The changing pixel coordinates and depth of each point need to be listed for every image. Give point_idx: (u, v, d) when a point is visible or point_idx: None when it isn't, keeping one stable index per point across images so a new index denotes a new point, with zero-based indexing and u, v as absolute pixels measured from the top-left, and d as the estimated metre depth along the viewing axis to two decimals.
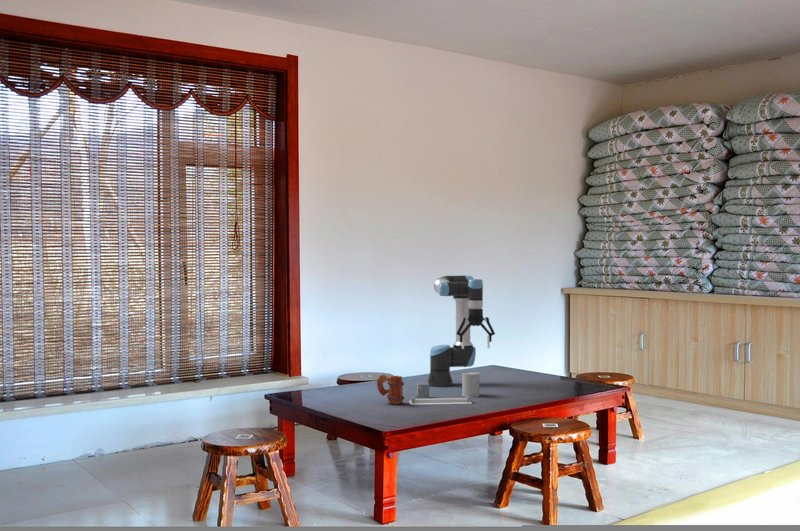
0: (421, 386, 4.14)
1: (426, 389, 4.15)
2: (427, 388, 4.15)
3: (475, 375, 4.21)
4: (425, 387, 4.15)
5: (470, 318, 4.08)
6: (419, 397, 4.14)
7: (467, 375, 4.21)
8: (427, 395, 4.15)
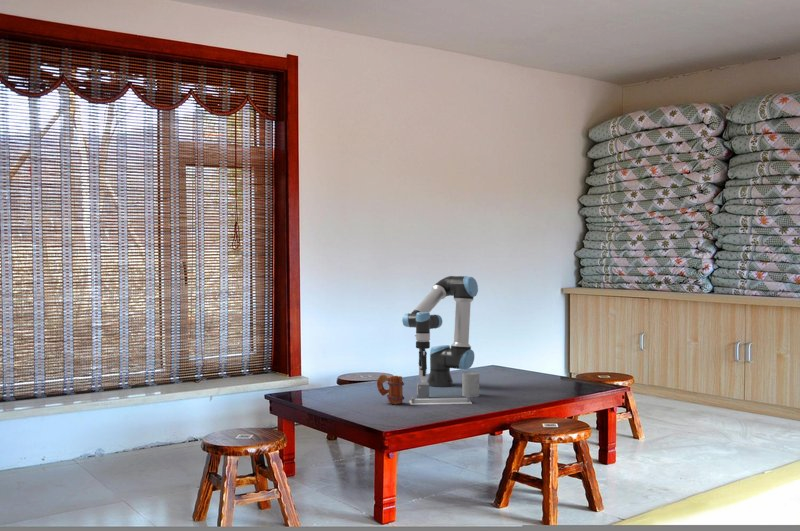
0: (421, 386, 4.14)
1: (426, 389, 4.15)
2: (427, 388, 4.15)
3: (475, 375, 4.21)
4: (425, 387, 4.15)
5: (420, 350, 4.20)
6: (419, 397, 4.14)
7: (467, 375, 4.21)
8: (427, 395, 4.15)
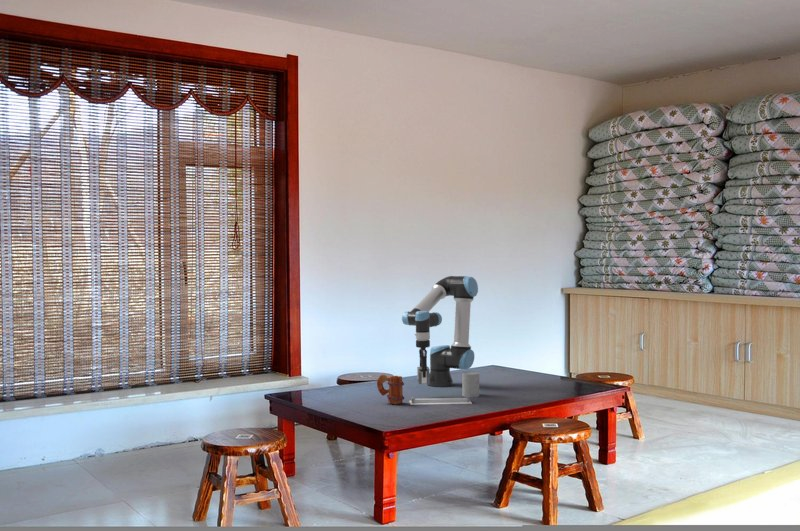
0: None
1: (427, 374, 4.15)
2: (427, 372, 4.15)
3: (475, 375, 4.21)
4: None
5: (420, 348, 4.21)
6: (420, 381, 4.15)
7: (467, 375, 4.21)
8: (427, 379, 4.15)
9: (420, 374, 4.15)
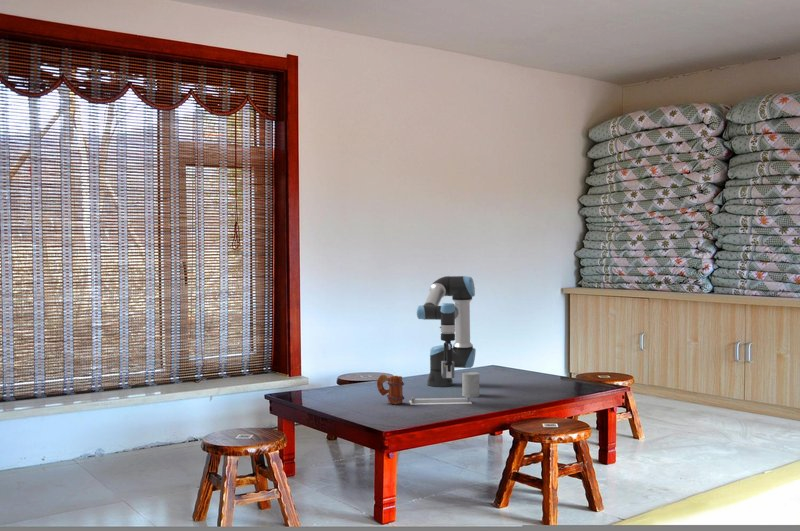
0: None
1: None
2: (452, 366, 4.03)
3: (475, 375, 4.21)
4: None
5: (445, 342, 4.09)
6: (444, 375, 4.02)
7: (467, 375, 4.21)
8: (452, 373, 4.03)
9: (445, 368, 4.02)
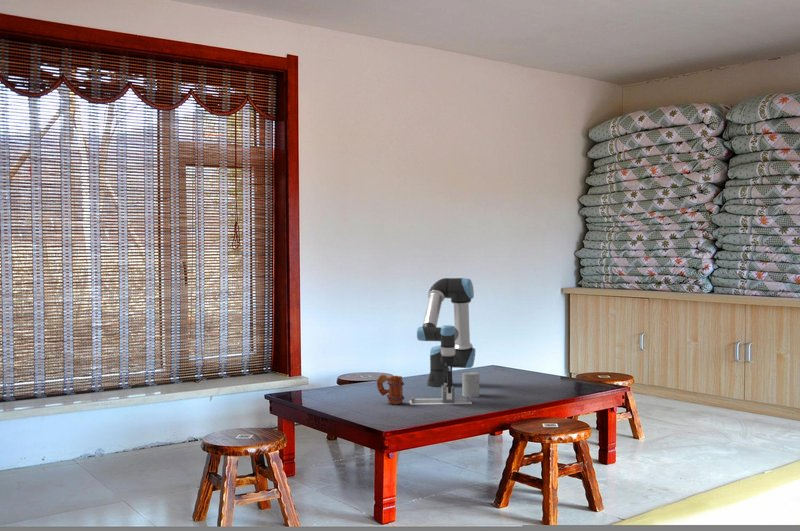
0: (446, 389, 4.03)
1: None
2: (452, 391, 4.03)
3: (475, 375, 4.21)
4: None
5: (445, 364, 4.09)
6: (444, 400, 4.03)
7: (467, 375, 4.21)
8: (452, 398, 4.03)
9: (445, 393, 4.03)
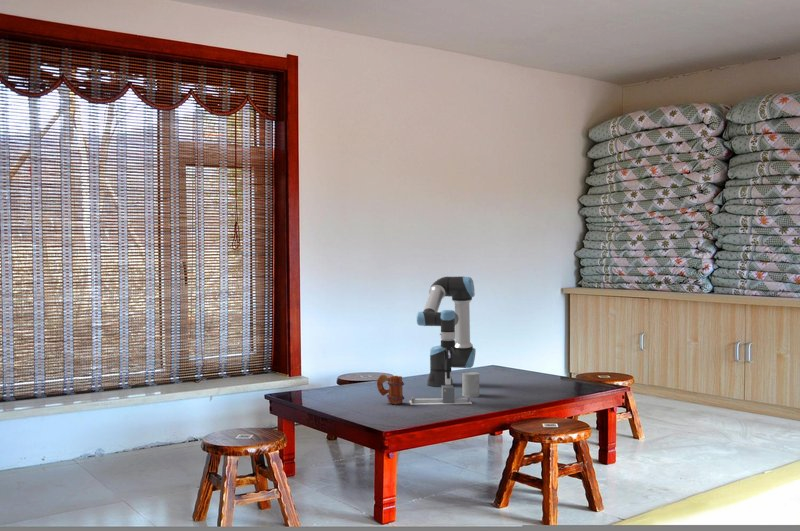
0: (446, 389, 4.03)
1: (451, 393, 4.03)
2: (452, 391, 4.03)
3: (475, 375, 4.21)
4: (450, 390, 4.03)
5: (445, 348, 4.09)
6: (444, 400, 4.03)
7: (467, 375, 4.21)
8: (452, 398, 4.03)
9: (445, 393, 4.03)
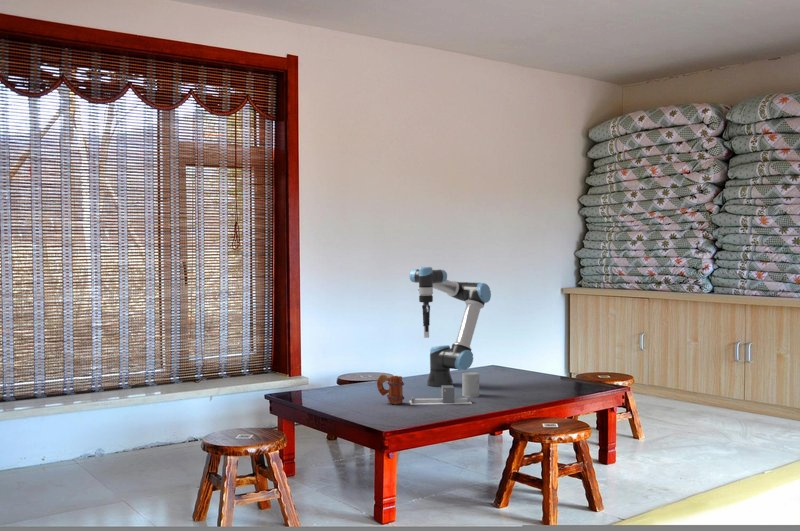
0: (446, 389, 4.03)
1: (451, 393, 4.03)
2: (452, 391, 4.03)
3: (475, 375, 4.21)
4: (450, 390, 4.03)
5: (423, 304, 4.31)
6: (444, 400, 4.03)
7: (467, 375, 4.21)
8: (452, 398, 4.03)
9: (445, 393, 4.03)
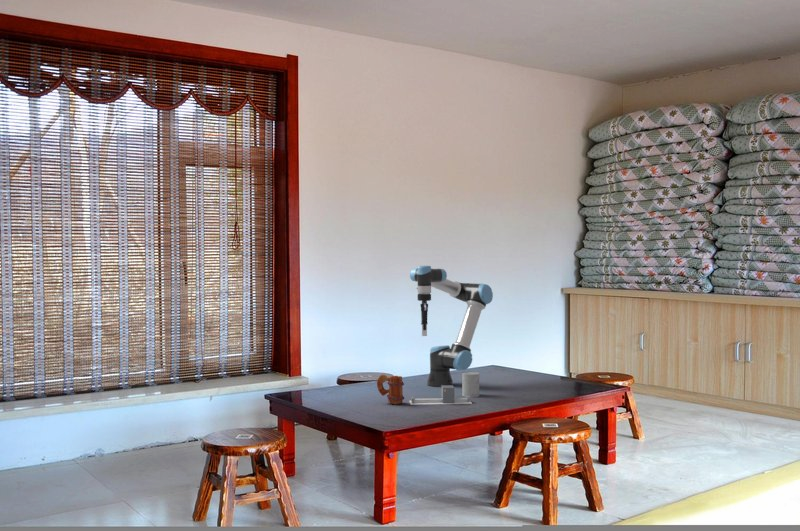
0: (446, 389, 4.03)
1: (451, 393, 4.03)
2: (452, 391, 4.03)
3: (475, 375, 4.21)
4: (450, 390, 4.03)
5: None
6: (444, 400, 4.03)
7: (467, 375, 4.21)
8: (452, 398, 4.03)
9: (445, 393, 4.03)
